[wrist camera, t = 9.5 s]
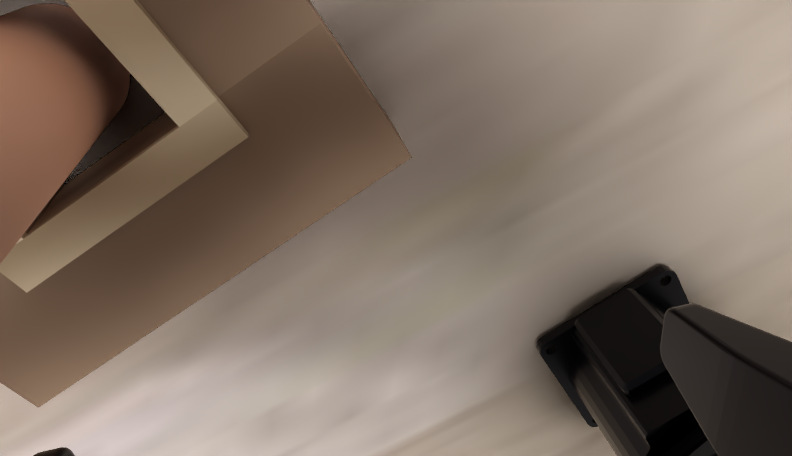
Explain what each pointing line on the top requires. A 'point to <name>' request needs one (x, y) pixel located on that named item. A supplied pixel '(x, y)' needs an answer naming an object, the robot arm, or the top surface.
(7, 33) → the peg
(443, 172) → the top surface
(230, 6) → the socket block
